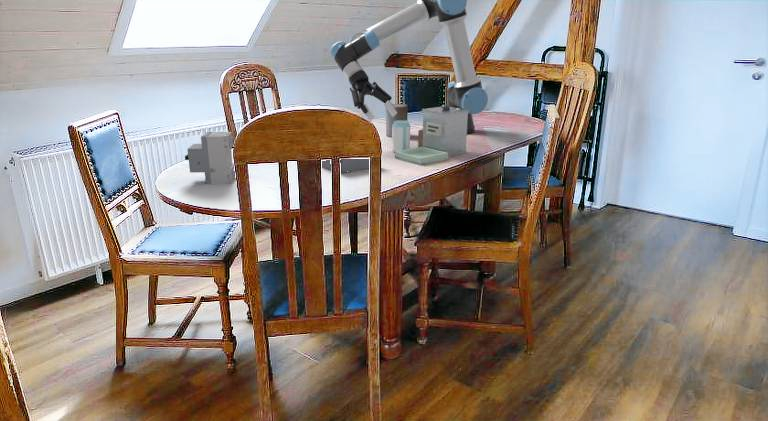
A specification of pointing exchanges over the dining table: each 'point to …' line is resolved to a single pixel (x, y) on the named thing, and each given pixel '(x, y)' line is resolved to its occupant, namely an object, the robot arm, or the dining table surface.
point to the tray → (421, 155)
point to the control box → (445, 129)
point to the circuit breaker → (213, 157)
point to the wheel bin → (348, 164)
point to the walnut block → (420, 138)
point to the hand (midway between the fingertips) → (383, 117)
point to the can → (400, 135)
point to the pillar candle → (395, 117)
